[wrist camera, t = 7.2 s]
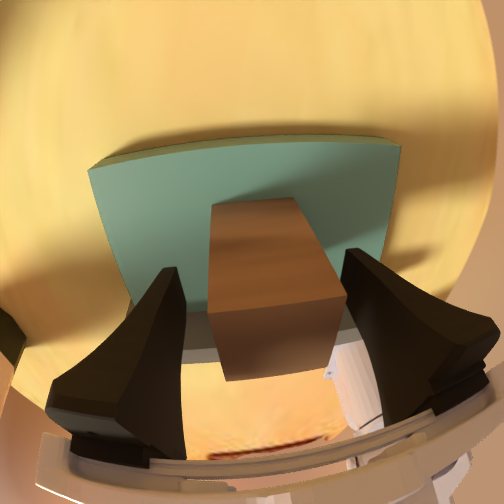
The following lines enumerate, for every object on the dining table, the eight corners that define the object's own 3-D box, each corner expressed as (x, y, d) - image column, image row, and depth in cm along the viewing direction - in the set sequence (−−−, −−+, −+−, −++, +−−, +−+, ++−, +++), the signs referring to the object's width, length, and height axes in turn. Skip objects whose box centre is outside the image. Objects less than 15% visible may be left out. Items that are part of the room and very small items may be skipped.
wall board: (368, 284, 20) (395, 331, 16) (138, 310, 19) (126, 364, 15) (395, 138, 14) (449, 165, 10) (87, 162, 13) (41, 199, 9)
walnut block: (291, 262, 16) (327, 366, 10) (221, 269, 15) (226, 381, 10) (293, 196, 13) (347, 294, 8) (211, 204, 13) (207, 313, 7)
